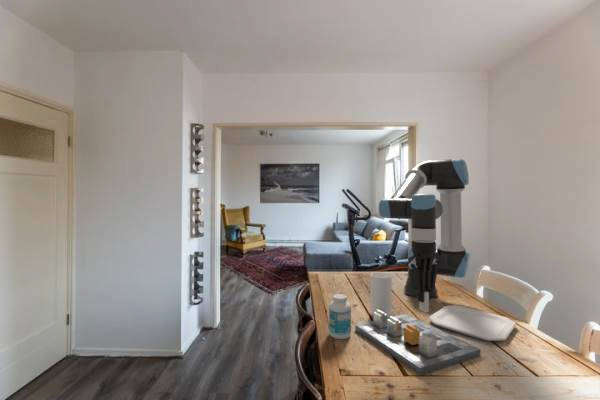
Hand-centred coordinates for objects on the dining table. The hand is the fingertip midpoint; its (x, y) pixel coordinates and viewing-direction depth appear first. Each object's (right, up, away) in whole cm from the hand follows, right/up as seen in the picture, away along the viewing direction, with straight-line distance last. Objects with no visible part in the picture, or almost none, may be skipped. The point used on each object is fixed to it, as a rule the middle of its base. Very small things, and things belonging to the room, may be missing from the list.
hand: (423, 310), depth 101 cm
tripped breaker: (-7, -7, -7) cm, 12 cm away
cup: (-9, -10, +22) cm, 25 cm away
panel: (-5, -10, -2) cm, 11 cm away
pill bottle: (-28, -10, +3) cm, 29 cm away
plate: (+22, -10, +11) cm, 27 cm away
